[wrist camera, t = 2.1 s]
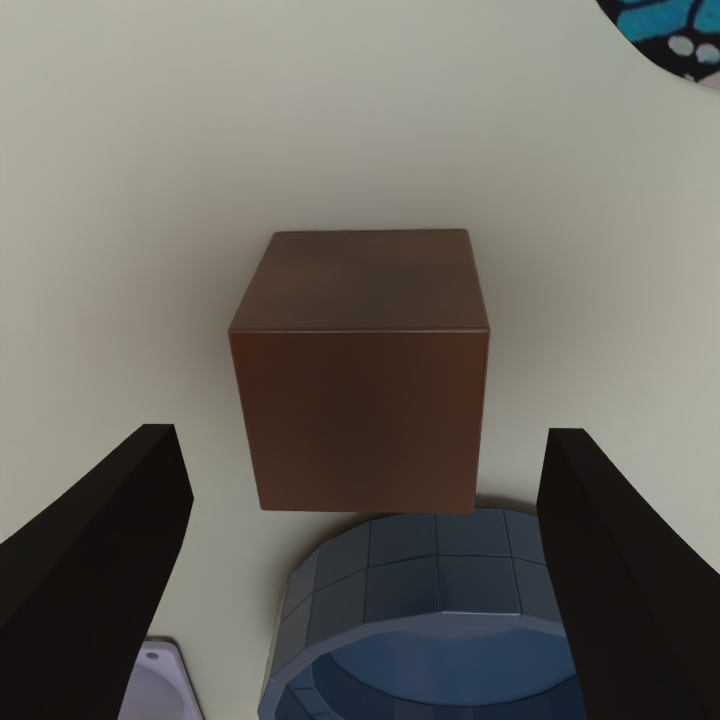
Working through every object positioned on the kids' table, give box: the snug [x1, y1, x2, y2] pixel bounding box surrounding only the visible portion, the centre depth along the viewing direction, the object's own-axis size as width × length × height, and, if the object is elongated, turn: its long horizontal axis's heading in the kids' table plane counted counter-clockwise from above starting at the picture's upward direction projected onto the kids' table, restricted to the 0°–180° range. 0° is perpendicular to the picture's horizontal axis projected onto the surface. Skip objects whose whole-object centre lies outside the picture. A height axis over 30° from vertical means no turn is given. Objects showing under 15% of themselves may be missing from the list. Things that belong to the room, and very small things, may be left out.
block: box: [228, 230, 490, 515], centre depth 15 cm, size 5×5×5 cm
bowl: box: [257, 508, 587, 720], centre depth 22 cm, size 14×14×4 cm
